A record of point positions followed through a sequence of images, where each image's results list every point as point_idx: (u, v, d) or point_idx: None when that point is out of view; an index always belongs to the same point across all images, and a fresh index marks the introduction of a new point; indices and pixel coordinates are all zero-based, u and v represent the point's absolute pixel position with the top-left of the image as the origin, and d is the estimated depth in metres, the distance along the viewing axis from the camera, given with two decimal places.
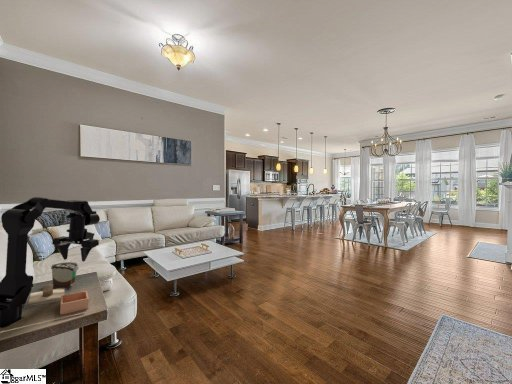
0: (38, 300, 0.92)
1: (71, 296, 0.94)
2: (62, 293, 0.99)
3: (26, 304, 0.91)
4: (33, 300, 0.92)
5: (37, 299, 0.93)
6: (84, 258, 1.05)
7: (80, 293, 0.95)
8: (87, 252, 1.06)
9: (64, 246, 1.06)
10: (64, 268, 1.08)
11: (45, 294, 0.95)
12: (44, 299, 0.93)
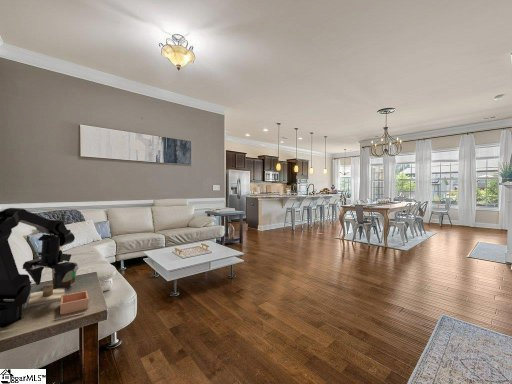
0: (38, 300, 0.92)
1: (71, 296, 0.94)
2: (62, 293, 0.99)
3: (26, 304, 0.91)
4: (33, 300, 0.92)
5: (37, 299, 0.93)
6: (58, 283, 0.96)
7: (80, 293, 0.95)
8: (62, 277, 0.97)
9: (36, 270, 0.97)
10: None
11: (45, 294, 0.95)
12: (44, 299, 0.93)
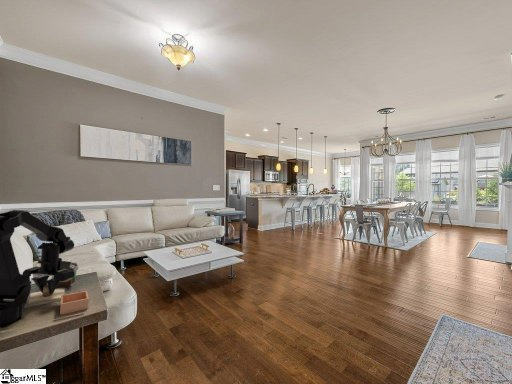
0: (38, 300, 0.92)
1: (71, 296, 0.94)
2: (62, 293, 0.99)
3: (26, 304, 0.91)
4: (33, 300, 0.92)
5: (37, 299, 0.93)
6: (52, 291, 0.96)
7: (80, 293, 0.95)
8: (55, 284, 0.97)
9: (42, 279, 0.96)
10: (64, 268, 1.08)
11: (45, 294, 0.95)
12: (44, 299, 0.93)
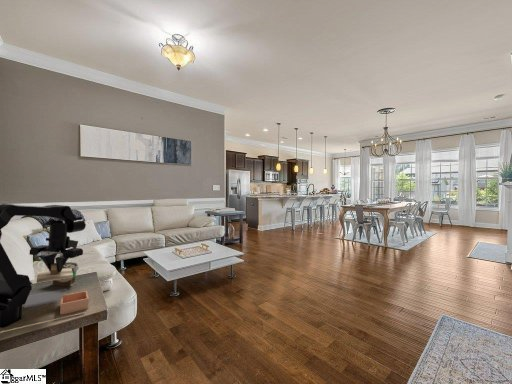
0: (47, 277, 0.91)
1: (71, 296, 0.94)
2: (70, 272, 0.98)
3: (26, 304, 0.91)
4: (41, 277, 0.91)
5: (45, 276, 0.91)
6: (60, 269, 0.95)
7: (80, 293, 0.95)
8: (63, 262, 0.96)
9: (50, 257, 0.95)
10: None
11: (53, 272, 0.94)
12: (52, 276, 0.92)
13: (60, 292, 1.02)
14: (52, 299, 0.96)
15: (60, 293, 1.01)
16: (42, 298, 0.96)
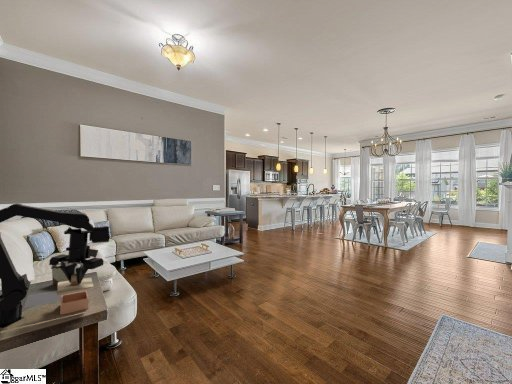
0: (67, 289, 0.87)
1: (71, 296, 0.94)
2: (90, 282, 0.94)
3: (26, 304, 0.91)
4: (61, 289, 0.86)
5: (65, 288, 0.87)
6: (80, 280, 0.91)
7: (80, 293, 0.95)
8: (83, 272, 0.91)
9: (70, 267, 0.91)
10: None
11: (73, 283, 0.90)
12: (73, 288, 0.88)
13: None
14: (52, 299, 0.96)
15: None
16: (42, 298, 0.96)
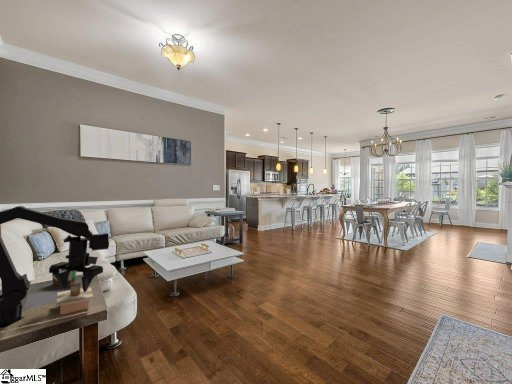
0: (67, 300, 0.87)
1: None
2: (90, 292, 0.94)
3: (26, 304, 0.91)
4: (61, 300, 0.86)
5: (65, 299, 0.87)
6: (86, 288, 0.91)
7: None
8: (89, 281, 0.91)
9: (63, 274, 0.91)
10: None
11: (73, 293, 0.90)
12: (72, 299, 0.88)
13: None
14: (52, 299, 0.96)
15: None
16: (42, 298, 0.96)
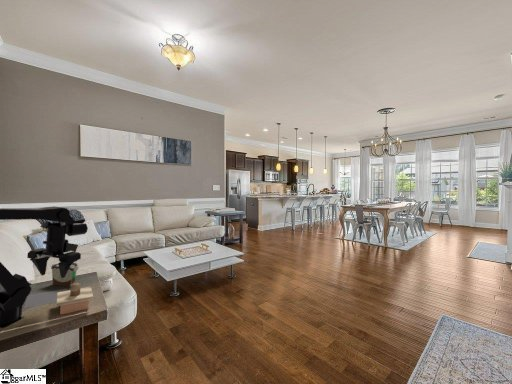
0: (67, 300, 0.87)
1: None
2: (90, 292, 0.94)
3: (26, 304, 0.91)
4: (61, 300, 0.86)
5: (65, 299, 0.87)
6: (63, 274, 0.90)
7: None
8: (67, 267, 0.91)
9: (41, 260, 0.92)
10: None
11: (73, 293, 0.90)
12: (72, 299, 0.88)
13: None
14: (52, 299, 0.96)
15: None
16: (42, 298, 0.96)
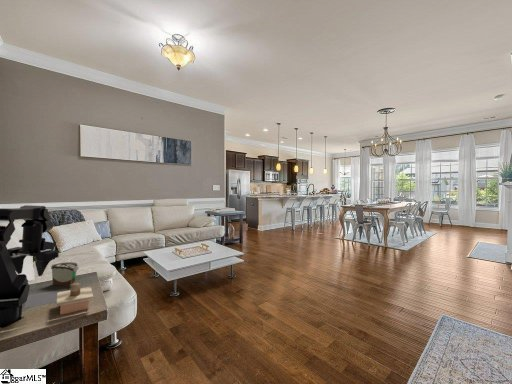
0: (67, 300, 0.87)
1: None
2: (90, 292, 0.94)
3: (26, 304, 0.91)
4: (61, 300, 0.86)
5: (65, 299, 0.87)
6: (41, 272, 0.91)
7: None
8: (44, 265, 0.92)
9: (18, 258, 0.92)
10: (64, 268, 1.08)
11: (73, 293, 0.90)
12: (72, 299, 0.88)
13: None
14: (52, 299, 0.96)
15: None
16: (42, 298, 0.96)
